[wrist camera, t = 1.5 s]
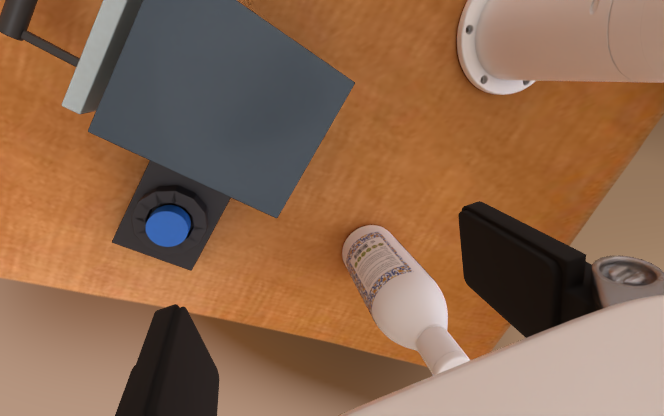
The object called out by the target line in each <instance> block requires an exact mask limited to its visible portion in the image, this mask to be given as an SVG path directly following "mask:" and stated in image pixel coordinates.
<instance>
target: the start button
mask: <svg viewBox="0 0 664 416" xmlns="http://www.w3.org/2000/svg"><path fill="white" fill-rule="evenodd" d="M190 226H191V220H190V217H189V215H188V214H187V212H186V211H185V210H183V209H182V208H180V207H178V206H175V205H164V206H161V207H158V208H157V209H156V210H154V212H153V213H152V214H151V216H150V217H149V219H148V220H147V222H146V233H147V236H148V237H149V238H150V240H151V241H152V242H154V243H155V244H157V245H160V246H164V247H172V246H176V245H178V244H180V243H182V242H183V241H184V240H185V239H186V237H187V235H188V232H189V229H190Z"/></svg>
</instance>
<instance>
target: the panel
mask: <svg viewBox="0 0 664 416" xmlns="http://www.w3.org/2000/svg"><path fill="white" fill-rule="evenodd" d="M230 198H231V197H229V196H227V195H225V194H223V193H220V192H218V191H216V190H214V189H212V188H209V187H207V186H205V185H203V184H201V183H199V182H196V181H194V180H192V179H190V178H188V177H185V176H183V175H181V174H179V173H177V172H175V171H172V170H170V169H168V168H166V167H164V166H162V165H159V164H157V163H155V162H153V161H151V160H150V162H149V164H148V166H147V168H146V170H145V172H144V174H143V177H142V179H141V181H140V183H139V185H138V187H137V189H136V191H135V194H134V196H133V198H132V200H131V202H130V204H129V206H128V208H127V211H126V213H125V215H124V217H123V219H122V221H121V223H120V225H119V228H118V230H117V232H116V234H115V236H114V238H113V240H112V243H115V244H118V245H121V246H123V247H126V248H129V249H132V250H135V251H137V252H140V253H143V254H146V255H149V256H151V257H154V258H157V259H160V260H163V261H165V262H168V263H171V264H174V265H177V266H179V267H182V268H185V269H188V270H192V269H193V267H194V265H195V263H196V261H197V259H198V258H199V256H200V254H201V252H202V250H203V248H204V246H205V245H206V243H207V241H208V239H209V237H210V235H211V233H212V232H213V230H214V228H215V226H216V224H217V222H218V220H219V219H220V217H221V215H222V213H223V211H224V209H225V207H226V205H227V204H228V202H229V200H230ZM164 205H175V206H178V207H180V208H182V209H183V210H185V211H186V212H187V214H188V215H189V217H190V220H191V226H190V229H189V232H188V235H187V237H186V239H185V240H184V241H183V242H182V243H180V244H178V245H176V246H172V247H164V246H160V245H157V244H155V243H154V242H152V241H151V240H150V238H149V237H148V236H147V233H146V222H147V220H148V219H149V217H150V216H151V214H152V213H153V212H154V210H156V209H157V208H158V207H161V206H164Z"/></svg>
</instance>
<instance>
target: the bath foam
mask: <svg viewBox="0 0 664 416" xmlns="http://www.w3.org/2000/svg"><path fill="white" fill-rule="evenodd" d="M342 258H343V261H344V264H345V266H346V268H347V270H348V272H349V274H350V276H351V277H352V279H353V281H354V283H355V285H356V287H357V289H358V291H359V293H360V295H361V297H362V298H363V300H364V302H365V304H366V306H367V308H368V310H369V312H370V314H371V316H372V317H373V319H374V321H375V323H376V324H377V326H378V327H379V328H380V330H381V331H382V332H383V333H384V334H385V335H386V336H387V337H388V338H390V339H391V340H392V341H394V342H396V343H397V344H399V345H402V346H404V347H407V348H410V349H413V350H416V351H418V352H419V353H420V355H421V357H422V358H423V360H424V362H425V363H426V365H427V366H428V368H429V369H430V371H431V373H432V374H433V376H434V375H436V374H439V373H441V372H443V371H446V370H448V369H451V368H453V367H456V366H458V365H460V364H463V363H465V362H468V361H470V359H469V358H468V357H467V355H466V354H465V353H464V352H463V350H462V349H461V348H460V346H459V345H458V344H457V343H456V341H455V340H454V339H453V338H452V336H451V335H450V334H449V333H448V332H447V324H448V314H447V306H446V302H445V299H444V296H443V294H442V292H441V290H440V288H439V287H438V285H437V284H436V282H435V281H434V280H433V279H432V277H431V276H430V275H429V274H428V273H427V272H426V271H425V270H424V269H423V268H422V267H421V266H420V264H419V263H418V262H417V261H416V260H415V259H414V258H413V257H412V256H411V255H410V254H409V253H408V251H407V250H406V249H405V248H404V247H403V246H402V245H401V244H400V243H399V242H398V241H397V240H396V238H394V237H393V235H392V234H391V233H390V232H389V231H388V230H386V229H385V228H383V227H380V226H377V225H367V226H363V227H360V228H358V229H357V230H355V231H354V232H352V233H351V234H350V235H349V237H348V238H347V239H346V241H345V243H344V245H343V249H342Z"/></svg>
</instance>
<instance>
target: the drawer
mask: <svg viewBox="0 0 664 416" xmlns="http://www.w3.org/2000/svg"><path fill="white" fill-rule="evenodd" d="M37 1H38V0H5V3H4V6H3V9H2V12H1V15H0V32H1V33H3V34H5V35H7V36H9V37H11V38H14V39H17V40H20V41H23V40H25V41H27V42H29V43H31V44H33V45H35V46H37V47H39V48H40V49H42V50H44V51H46V52H48V53H50V54H52V55H54V56H56V57H58V58H60V59H62V60H64V61H66V62H68V63H69V64H71V65H73V66H75V67H76V70H75V72H74V75H73V77H72V80H71V82H70V85H69V87H68V90H67V92H66V95H65V97H64V100H63V102H62V106H63V107H65V108H67V109H69V110H72V111H74V112H76V113H78V114H83V113H88V112H92V111H96V110H97V108H98V106H99V103H100V101H101V99H102V96H103V94H104V91H105V89H106V87H107V84H108V82H109V80H110V77H111V75H112V73H113V70H114V68H115V65H116V63H117V61H118V58H119V56H120V54H121V51H122V49H123V47H124V44H125V42H126V39H127V37H128V35H129V32H130V30H131V28H132V25H133V23H134V20H135V18H136V16H137V13H138V11H139V9H140V6H141V4H142V2H143V0H103V2H102V5H101V7H100V10H99V12H98V15H97V17H96V20H95V22H94V25H93V27H92V30H91V32H90V35H89V37H88V40H87V42H86V45H85V47H84V50H83V52H82V55H81V57H80V58H78V57H76V56H74V55H72V54H70V53H69V52H67V51H65V50H63V49H61V48H59V47H57V46H55V45H53V44H52V43H50V42H48V41H46V40H44V39H42V38H40V37H38V36H36V35H34V34H33V33H31V32H29V31H27V29H28V26H29V23H30V20H31V18H32V15H33V12H34V9H35V6H36V4H37Z"/></svg>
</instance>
